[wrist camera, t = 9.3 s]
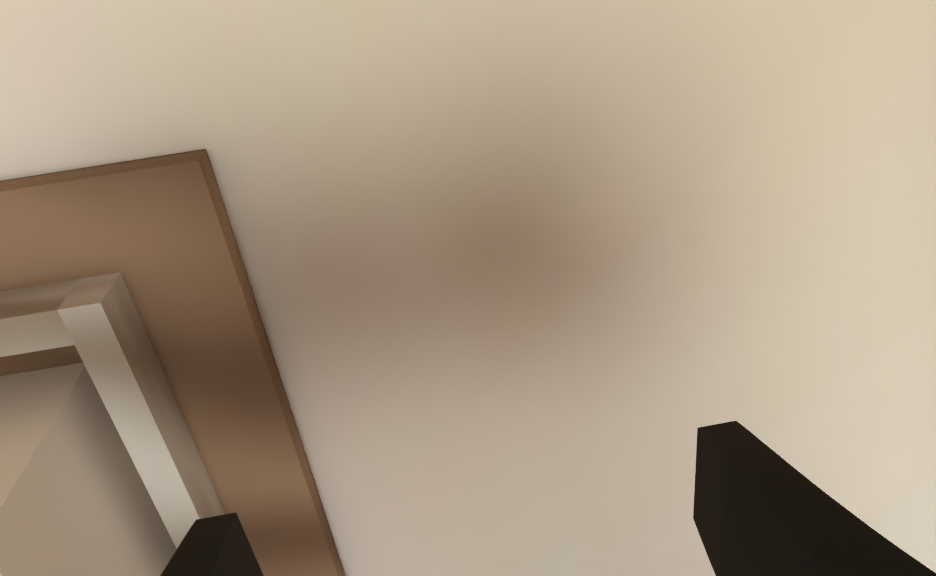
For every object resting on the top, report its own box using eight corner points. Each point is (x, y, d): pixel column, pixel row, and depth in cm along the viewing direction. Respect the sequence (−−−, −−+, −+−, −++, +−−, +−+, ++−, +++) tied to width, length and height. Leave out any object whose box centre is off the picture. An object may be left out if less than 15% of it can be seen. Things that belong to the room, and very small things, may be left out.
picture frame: (384, 697, 29) (385, 756, 27) (95, 751, 29) (75, 815, 27) (205, 149, 17) (183, 184, 15) (-301, 228, 17) (-391, 275, 15)
